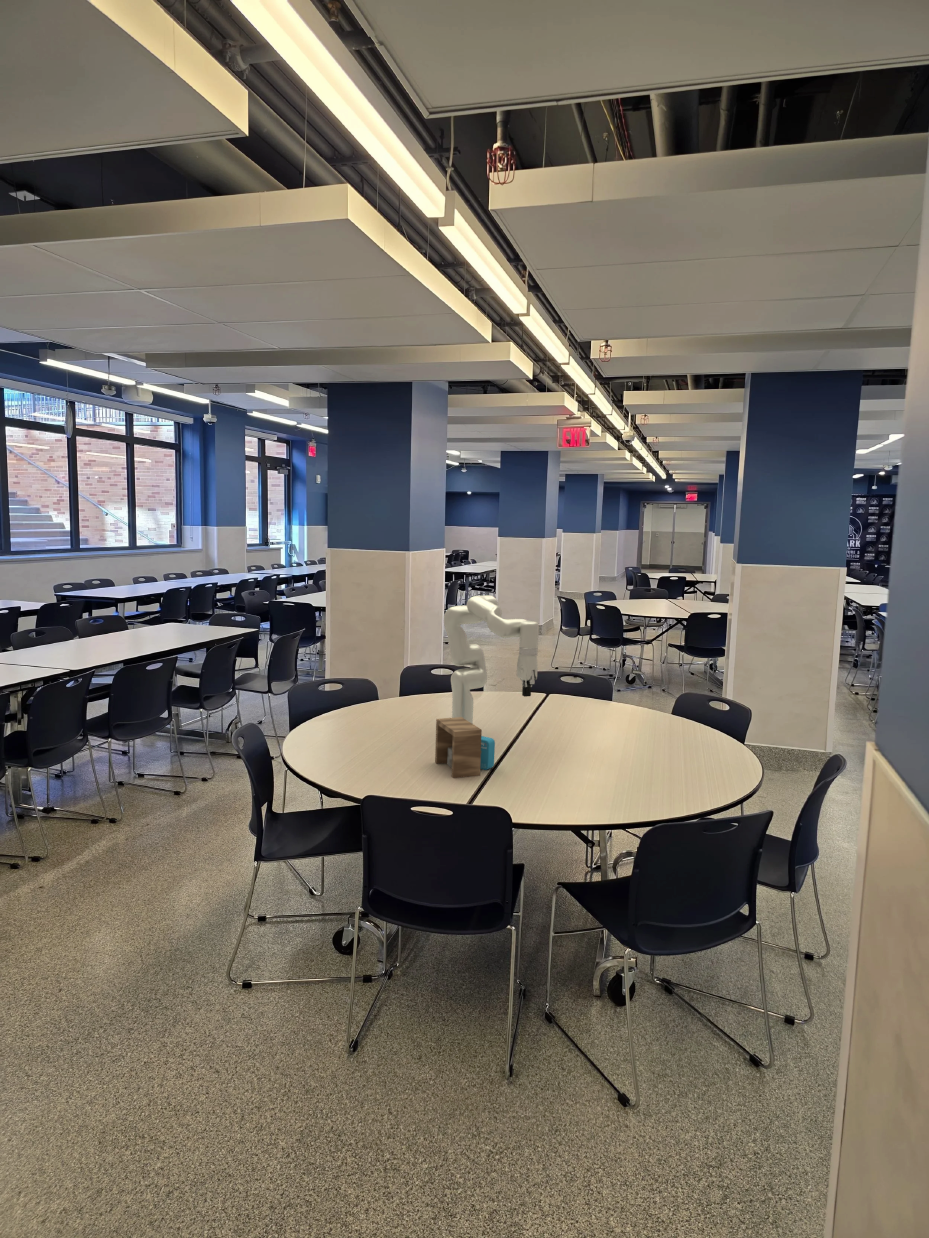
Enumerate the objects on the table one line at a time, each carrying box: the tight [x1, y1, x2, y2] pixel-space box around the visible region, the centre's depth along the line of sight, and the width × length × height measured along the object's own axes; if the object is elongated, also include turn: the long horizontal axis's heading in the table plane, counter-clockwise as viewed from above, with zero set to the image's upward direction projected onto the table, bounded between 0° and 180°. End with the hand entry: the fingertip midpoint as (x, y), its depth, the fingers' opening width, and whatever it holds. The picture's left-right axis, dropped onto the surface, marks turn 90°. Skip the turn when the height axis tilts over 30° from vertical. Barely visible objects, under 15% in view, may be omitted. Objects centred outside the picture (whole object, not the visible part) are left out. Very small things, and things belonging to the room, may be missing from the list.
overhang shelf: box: [434, 717, 483, 779], centre depth 289 cm, size 20×11×18 cm, turn 23°
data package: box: [480, 735, 496, 771], centre depth 293 cm, size 12×4×12 cm, turn 55°
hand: (526, 695), depth 300 cm, fingers closed
